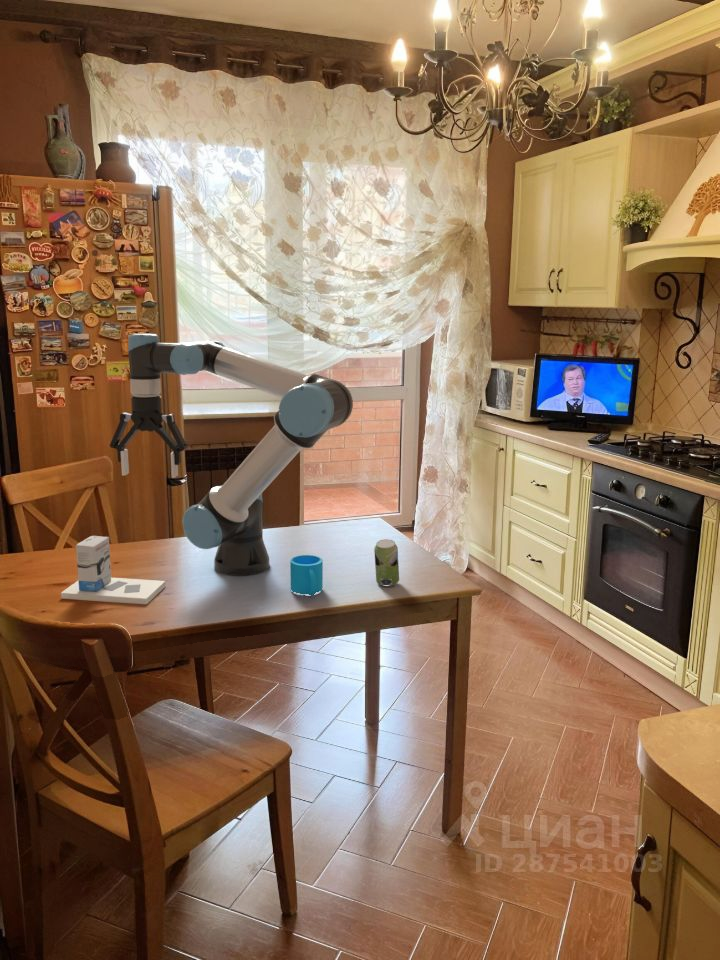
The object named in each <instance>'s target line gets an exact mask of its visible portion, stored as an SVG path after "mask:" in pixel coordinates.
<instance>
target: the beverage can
mask: <svg viewBox="0 0 720 960" xmlns="http://www.w3.org/2000/svg"><path fill="white" fill-rule="evenodd" d="M373 549H374V563H375V564H374V565H375V581H376V583H377V584H378V585H380V584H381V585H394V586H395V585H397V584H398V583H399V581H400V571H399V570H400V567H399V548H398V546H397V544H396V542H395V541H394V540H393V539H380V540H379V541H377V542H376V544H375V546H374V548H373ZM381 585H380V586H381Z"/></svg>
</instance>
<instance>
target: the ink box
mask: <svg viewBox="0 0 720 960" xmlns="http://www.w3.org/2000/svg"><path fill="white" fill-rule="evenodd" d="M110 550H111V549H110V537H109V536H101V535H99V536H98V535H90V536H89V537H87V538H85V539H84V540H82V541H80V542H78V543H77V544H76V546H75V551H76V552H75V553H76V565H77V578H78V579H77V581H78V582H79V590H81V591H98V590H99V589H100V588H102V587H103V586H104V585H106V584H107V583H108V582H109V581H111V578H112V568H111V554H110V553H111V551H110Z"/></svg>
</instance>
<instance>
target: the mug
mask: <svg viewBox="0 0 720 960" xmlns="http://www.w3.org/2000/svg"><path fill="white" fill-rule="evenodd" d="M323 561H324V560H323V559H322V558H321V556H318V555H311V554H302V555H296V556H294V557H292V558H290V561H289V563H290V566H289V567H290V591H291V590H292V591H293V592H296V593H300V594H309V595H314V594H315V593H316V592H319V591H321V590H322V588H323V583H324V582H323V579H324V578H323V566H324V565H323V563H324V562H323ZM322 591H323V590H322ZM314 596H315V595H314Z"/></svg>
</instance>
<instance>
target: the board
mask: <svg viewBox="0 0 720 960" xmlns="http://www.w3.org/2000/svg"><path fill="white" fill-rule="evenodd" d="M166 586H167V585H166V580H156V579H155V580H154V579H153V580H152V579H140V578H125V577H111V581H109V582H108V583H107V584H106V585H104V586H103V587H102V588H100V589H99V590H98V591H81V590H79V582H78V580H76V581H75V582H74V583H72V584H71V585H69V587H67V588H66V589H64V590H63V591H62V592H60V598H61V599H62V600H64V599H65V600H74V601H75V600H78V601H90V602H91V601H92V602H106V603H118V604H119V603H122V604H135V605H148V604H149V603H150V602H152V600H153V599H154V598H155V597H156V596H157V595H158V594H160V592H162V591H163V590H164V589H165V588H166Z"/></svg>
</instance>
